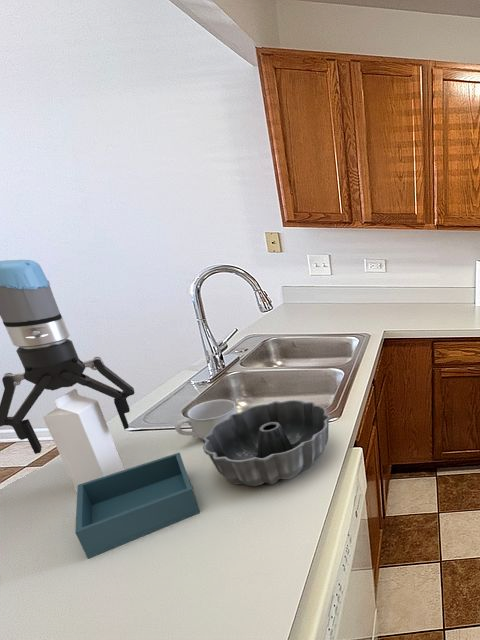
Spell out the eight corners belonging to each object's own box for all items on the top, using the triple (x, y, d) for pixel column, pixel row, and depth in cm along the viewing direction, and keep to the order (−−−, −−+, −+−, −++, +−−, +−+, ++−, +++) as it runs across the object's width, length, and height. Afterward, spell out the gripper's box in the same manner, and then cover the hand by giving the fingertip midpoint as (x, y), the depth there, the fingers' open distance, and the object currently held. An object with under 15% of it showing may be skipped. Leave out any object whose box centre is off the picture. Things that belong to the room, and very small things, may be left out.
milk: (126, 473, 91) (93, 386, 83) (109, 490, 86) (73, 399, 78) (95, 476, 90) (59, 389, 82) (76, 494, 84) (35, 402, 77)
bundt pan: (306, 501, 83) (299, 461, 79) (184, 498, 84) (171, 458, 80) (349, 433, 107) (345, 400, 104) (254, 431, 108) (247, 399, 105)
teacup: (235, 419, 114) (228, 395, 111) (246, 434, 107) (240, 408, 104) (176, 438, 105) (168, 411, 102) (184, 455, 98) (175, 427, 95)
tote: (88, 508, 81) (77, 484, 78) (186, 474, 91) (179, 452, 89) (87, 558, 69) (75, 532, 67) (200, 512, 80) (192, 488, 77)
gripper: (-66, 365, 66) (-8, 471, 73) (128, 333, 81) (160, 423, 89) (-55, 353, 71) (-1, 453, 78) (126, 326, 86) (156, 412, 94)
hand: (84, 438), depth 84 cm, fingers open, 13 cm apart
